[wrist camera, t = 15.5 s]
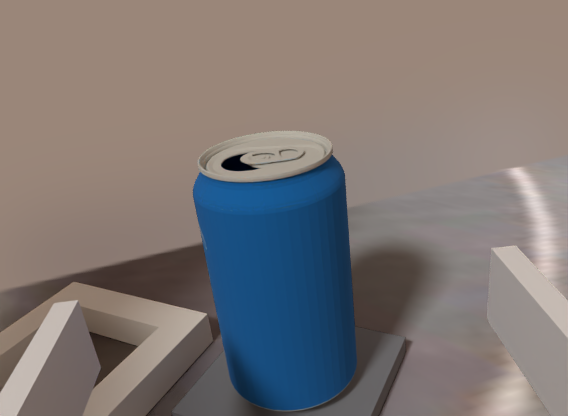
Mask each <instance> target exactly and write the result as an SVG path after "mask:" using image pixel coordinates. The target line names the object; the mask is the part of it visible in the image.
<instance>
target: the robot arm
mask: <svg viewBox="0 0 568 416" xmlns="http://www.w3.org/2000/svg"><path fill="white" fill-rule="evenodd" d="M487 320H488V322H489V323H490V325H491V326H492V328H493V329H494V331H495V332H496V334H497V335H498V337H499V338H500V340H501V341H502V343H503V344H504V346H505V347H506V349H507V350H508V352H509V353H510V355H511V356H512V358H513V359H514V361H515V362H516V364H517V365H518V367H519V368H520V370H521V371H522V373H523V374H524V376H525V377H526V379H527V380H528V382H529V383H530V385H531V386H532V388H533V389H534V391H535V392H536V394H537V395H538V397H539V398H540V400H541V401H542V403H543V404H544V406H545V407H546V409H547V410H548V412H549V413H550V415H551V416H568V300H567V299H566V298H565V297H564V296H563V295H562V294H561V293H560V292H559V291H558V290H557V289H556V288H555V287H554V286H553V285H552V283H551V282H550V281H549V280H548V279H547V278H546V277H545V276H544V275H543V274H542V273H541V272H540V271H539V270H538V269H537V268H536V267H535V266H534V265H533V263H532V262H531V261H530V260H529V259H528V258H527V257H526V256H525V255H524V254H523V253H522V252H521V251H520V250H519V249H518V248H517V247H516V246H507V247H499V248H491V261H490V277H489V293H488V309H487ZM100 369H101V366H100V363H99V360H98V357H97V354H96V351H95V348H94V345H93V342H92V339H91V336H90V334H89V331H88V328H87V325H86V322H85V319H84V316H83V313H82V310H81V307H80V304H79V301H78V300H75V301H67V302H59V303H54V304H53V306H52V308H51V309H50V311H49V313H48V314H47V316H46V318H45V319H44V321H43V323H42V324H41V326H40V328H39V329H38V331H37V333H36V334H35V336H34V338H33V339H32V341H31V343H30V344H29V346H28V347H27V349H26V351H25V352H24V354H23V356H22V357H21V359H20V361H19V362H18V364H17V366H16V367H15V369H14V371H13V372H12V374H11V376H10V377H9V379H8V381H7V382H6V384H5V386H4V387H3V389H2V391H1V392H0V416H83V413H84V410H85V408H86V405H87V403H88V400H89V398H90V395H91V392H92V390H93V387H94V385H95V382H96V379H97V377H98V374H99V372H100Z"/></svg>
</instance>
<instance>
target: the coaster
mask: <svg viewBox="0 0 568 416" xmlns="http://www.w3.org/2000/svg"><path fill="white" fill-rule="evenodd" d="M355 337H356V352H357V367H356V371H355V374H354V376H353V378H352V380H351V382H350V383H349V384H348V386H347V387H346V388H345V389H344V390H343V391H342V392H341V393H340V394H338V395H337V396H336V397H334V398H333V399H331V400H329V401H328V402H325V403H323V404H321V405H319V406H316V407H313V408H309V409H304V410H299V411H274V410H269V409H265V408H261V407H258V406H256V405H254V404H252V403H250V402H248V401H247V400H245V399H244V398H243V397H242V396H241V395H239V394H238V392H237V391H236V390H235V388H234V387H233V385H232V383H231V380H230V376H229V371H228V366H227V361H226V356H225V352H224V351H223V352H222V353H221V354H220V355H219V356H218V358H217V359H216V360H215V361H214V362H213V363H212V365H211V366H210V367H209V368H208V369H207V370H206V372H205V373H204V374H203V375H202V376H201V377H200V378H199V380H198V381H197V382H196V383H195V384H194V385H193V387H192V388H191V389H190V390H189V391H188V392H187V394H186V395H185V396H184V397H183V398H182V399H181V401H180V402H179V403H178V404H177V405H176V406H175V408H174V409H173V410H172V411H171V412H172V416H379V413H380V411H381V409H382V406H383V404H384V402H385V399H386V397H387V395H388V392H389V390H390V387H391V385H392V383H393V380H394V378H395V376H396V373H397V371H398V369H399V366H400V364H401V362H402V359H403V357H404V355H405V352H406V341H405V337H402V336H398V335H393V334H388V333H384V332H379V331H375V330H370V329H366V328H361V327H356V326H355Z"/></svg>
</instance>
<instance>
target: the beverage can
mask: <svg viewBox="0 0 568 416" xmlns="http://www.w3.org/2000/svg"><path fill="white" fill-rule="evenodd" d="M332 153H333V147H332V143H331V142H330V140H328V139H327V138H325V137H323V136H321V135H318V134H314V133H309V132H301V131H273V132H263V133H256V134H250V135H245V136H241V137H237V138H234V139H230V140H227V141H224V142H222V143H219V144H217V145H215V146H213V147H211V148H209V149H207V150H206V151H205V152H203V153H202V154H201V155H200V157H199V158H198V168H199V170H200V173H199V175H198V177H197V179H196V181H195V184H194V188H193V198H194V202H195V207H196V212H197V217H198V222H199V227H200V232H201V237H202V242H203V247H204V252H205V257H206V262H207V267H208V272H209V277H210V282H211V287H212V292H213V297H214V302H215V307H216V312H217V317H218V322H219V327H220V332H221V337H222V342H223V347H224V352H225V356H226V361H227V366H228V371H229V376H230V380H231V383H232V385H233V387H234V388H235V390H236V391H237V392H238V394H239V395H241V396H242V397H243V398H244V399H245V400H247V401H248V402H250V403H252V404H254V405H256V406H258V407H261V408H265V409H269V410H274V411H299V410H304V409H309V408H313V407H316V406H319V405H321V404H323V403H325V402H328V401H329V400H331V399H333V398H334V397H336V396H337V395H338V394H340V393H341V392H342V391H343V390H344V389H345V388H346V387H347V386H348V384H349V383H350V382H351V380H352V378H353V376H354V374H355V371H356V367H357V352H356V337H355V322H354V307H353V291H352V276H351V261H350V246H349V231H348V216H347V202H346V186H345V173H344V170H343V168H342V166H341V164H340V163H339V162H338V161H337V160H336V158H335V157H334V156H333V155H332Z"/></svg>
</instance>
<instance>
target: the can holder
mask: <svg viewBox="0 0 568 416" xmlns="http://www.w3.org/2000/svg"><path fill="white" fill-rule="evenodd" d="M75 300H78V301H79V304H80V307H81V310H82V313H83V316H84V319H85V322H86V325H87V328H88V331H89V332H92V333H96V334H99V335H102V336H106V337H109V338H112V339H116V340H119V341H122V342H126V343H129V344H133V345H136V346H138V347H137V348H136V349H135V350H134V351H133V352H132V353H131V354H130V355H129V356H128V357H127V358H126V359H125V360H123V361H122V362H121V363H120V364H119V365H118V366H117V367H116V368H115V369H114V370H113V371H112V372H111V373H110V374H109V375H107V376H106V377H105V378H104V379H103V380H102V381H101V382H100V383H99V384H98V385H97V386H96V387H95V388H94V389H93V390H92V392H91V395H90V398H89V400H88V403H87V405H86V408H85V410H84V413H83V416H146V415H147V414H148V413H149V411H150V410H151V409H152V408H153V407H154V406H155V405H156V404H157V403H158V402H159V400H160V399H161V398H162V397H163V396H164V395H165V394H166V393H167V392H168V390H169V389H170V388H171V387H172V386H173V385H174V384H175V383H176V382H177V380H178V379H179V378H180V377H181V376H182V375H183V374H184V373H185V372H186V370H187V369H188V368H189V367H190V366H191V365H192V364H193V363H194V362H195V361H196V359H197V358H198V357H199V356H200V355H201V354H202V353H203V352H204V351H205V349H206V348H207V347H208V346H209V345H210V344H211V343H212V342H213V338H212V333H211V328H210V323H209V319H208V314H206V313H202V312H198V311H194V310H190V309H185V308H181V307H177V306H173V305H169V304H165V303H160V302H156V301H152V300H148V299H144V298H140V297H136V296H131V295H127V294H123V293H119V292H115V291H111V290H106V289H102V288H98V287H94V286H90V285H86V284H81V283H77V282H73V283H71V284H70V285H68V286H67V287H65V288H64V289H62V290H61V291H60V292H58V293H57V294H55V295H54V296H52V297H51V298H49V299H48V300H47V301H45V302H44V303H42V304H41V305H39V306H38V307H36V308H35V309H34V310H32V311H31V312H29V313H28V314H26V315H25V316H23V317H22V318H20V319H19V320H18V321H16V322H15V323H13V324H12V325H10V326H9V327H7V328H6V329H5V330H3V331H2V332H0V392H1V391H2V389H3V387H4V386H5V384H6V382H7V381H8V379H9V377H10V376H11V374H12V372H13V371H14V369H15V367H16V366H17V364H18V362H19V361H20V359H21V357H22V356H23V354H24V352H25V351H26V349H27V347H28V346H29V344H30V343H31V341H32V339H33V338H34V336H35V334H36V333H37V331H38V329H39V328H40V326H41V324H42V323H43V321H44V319H45V318H46V316H47V314H48V313H49V311H50V309H51V308H52V306H53V304H54V303H59V302H67V301H75Z"/></svg>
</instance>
